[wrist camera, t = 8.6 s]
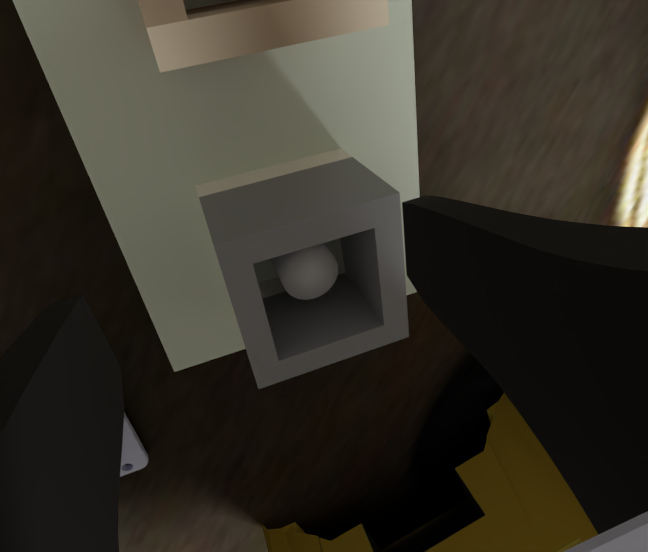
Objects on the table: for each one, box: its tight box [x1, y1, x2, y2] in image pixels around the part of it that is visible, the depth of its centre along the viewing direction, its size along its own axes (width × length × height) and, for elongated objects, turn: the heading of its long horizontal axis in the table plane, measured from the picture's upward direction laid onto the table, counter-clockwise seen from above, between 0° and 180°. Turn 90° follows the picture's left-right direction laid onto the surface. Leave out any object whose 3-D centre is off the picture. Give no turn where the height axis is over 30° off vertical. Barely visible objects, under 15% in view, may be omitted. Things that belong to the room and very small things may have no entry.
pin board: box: [12, 0, 420, 372], centre depth 16 cm, size 12×20×5 cm, turn 8°
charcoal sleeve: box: [196, 148, 409, 389], centre depth 17 cm, size 6×6×5 cm
